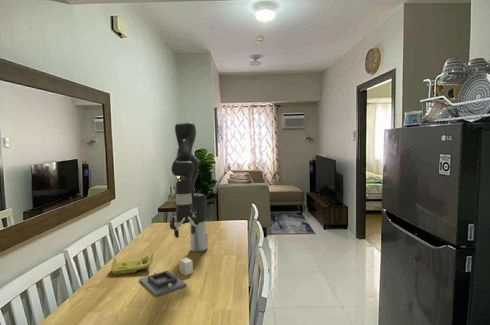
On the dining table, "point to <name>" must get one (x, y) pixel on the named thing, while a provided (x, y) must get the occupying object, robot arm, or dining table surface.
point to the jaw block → (186, 266)
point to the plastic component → (131, 265)
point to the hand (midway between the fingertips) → (185, 235)
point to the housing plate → (162, 283)
